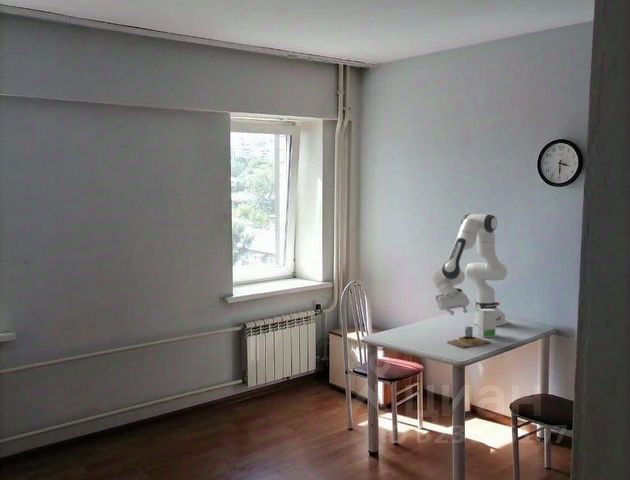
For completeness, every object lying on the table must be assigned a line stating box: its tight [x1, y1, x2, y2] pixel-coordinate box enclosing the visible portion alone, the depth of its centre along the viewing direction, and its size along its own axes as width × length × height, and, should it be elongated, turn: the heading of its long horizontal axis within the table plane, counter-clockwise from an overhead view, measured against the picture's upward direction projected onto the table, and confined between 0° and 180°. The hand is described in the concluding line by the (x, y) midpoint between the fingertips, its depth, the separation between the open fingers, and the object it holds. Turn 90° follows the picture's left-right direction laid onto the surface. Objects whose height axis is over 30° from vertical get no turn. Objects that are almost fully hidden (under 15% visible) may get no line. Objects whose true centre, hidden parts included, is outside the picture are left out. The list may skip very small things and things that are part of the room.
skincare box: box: [477, 309, 497, 338], centre depth 347 cm, size 8×7×16 cm
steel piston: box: [464, 326, 474, 340], centre depth 332 cm, size 4×4×8 cm
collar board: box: [446, 336, 491, 349], centre depth 332 cm, size 20×13×3 cm, turn 116°
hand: (459, 313), depth 338 cm, fingers open, 8 cm apart
